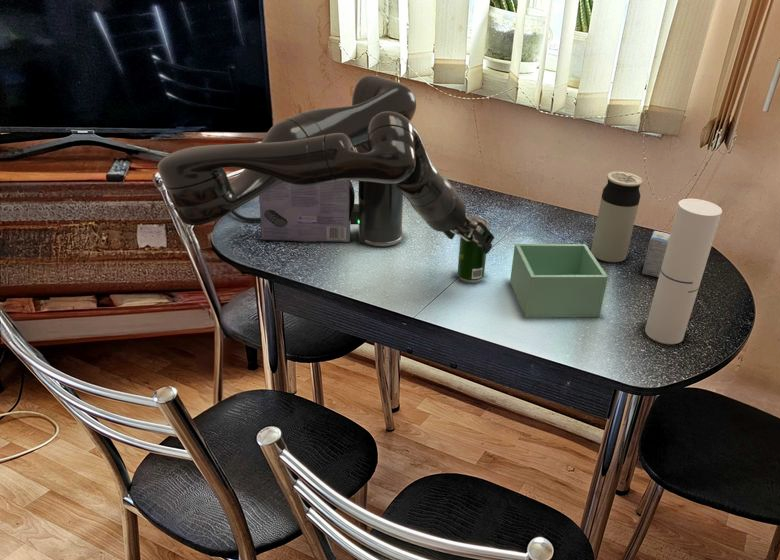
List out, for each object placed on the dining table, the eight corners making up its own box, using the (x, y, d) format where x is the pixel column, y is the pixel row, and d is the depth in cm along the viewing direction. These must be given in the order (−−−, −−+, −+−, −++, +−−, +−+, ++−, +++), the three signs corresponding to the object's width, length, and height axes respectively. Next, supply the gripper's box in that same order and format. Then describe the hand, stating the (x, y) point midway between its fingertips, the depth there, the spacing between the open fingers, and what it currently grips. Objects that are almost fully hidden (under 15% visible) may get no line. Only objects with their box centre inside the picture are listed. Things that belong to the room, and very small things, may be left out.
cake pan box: (355, 233, 149) (354, 153, 140) (355, 243, 145) (354, 162, 136) (263, 231, 146) (256, 149, 136) (261, 241, 142) (253, 158, 132)
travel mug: (604, 265, 148) (621, 186, 138) (583, 249, 154) (598, 172, 144) (633, 260, 151) (651, 182, 141) (612, 245, 157) (628, 169, 147)
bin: (525, 318, 127) (531, 277, 122) (509, 282, 137) (514, 243, 133) (599, 316, 130) (608, 276, 125) (578, 282, 140) (585, 244, 136)
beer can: (489, 279, 138) (495, 224, 131) (468, 286, 135) (473, 230, 128) (472, 268, 141) (477, 214, 134) (451, 274, 138) (455, 219, 131)
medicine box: (680, 274, 148) (690, 237, 143) (678, 283, 144) (688, 246, 140) (644, 265, 150) (653, 229, 145) (641, 274, 146) (650, 237, 141)
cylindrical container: (640, 322, 129) (673, 197, 115) (676, 323, 130) (713, 199, 116) (651, 343, 123) (686, 214, 109) (688, 344, 124) (728, 216, 110)
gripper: (394, 206, 121) (432, 246, 135) (457, 232, 114) (490, 271, 129) (415, 171, 122) (451, 214, 136) (479, 194, 115) (509, 237, 130)
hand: (470, 242), depth 132 cm, fingers open, 8 cm apart
